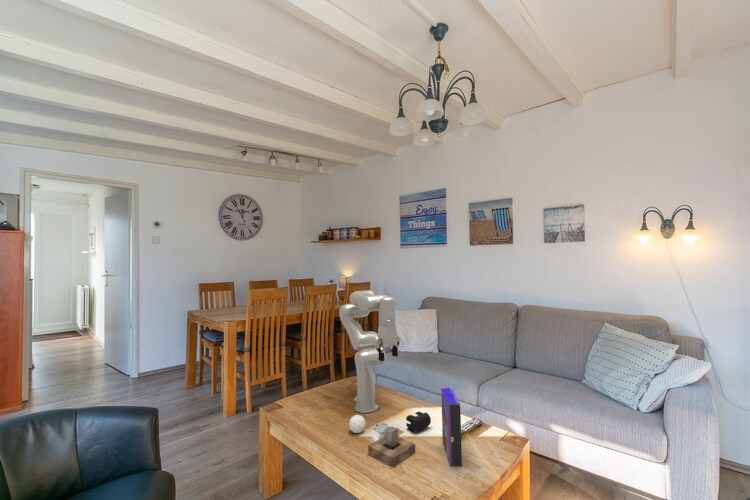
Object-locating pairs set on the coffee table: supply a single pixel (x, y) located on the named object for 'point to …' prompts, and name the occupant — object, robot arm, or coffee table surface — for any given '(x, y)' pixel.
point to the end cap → (418, 421)
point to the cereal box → (451, 426)
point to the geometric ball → (357, 424)
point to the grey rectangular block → (391, 437)
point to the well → (391, 451)
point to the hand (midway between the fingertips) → (388, 358)
